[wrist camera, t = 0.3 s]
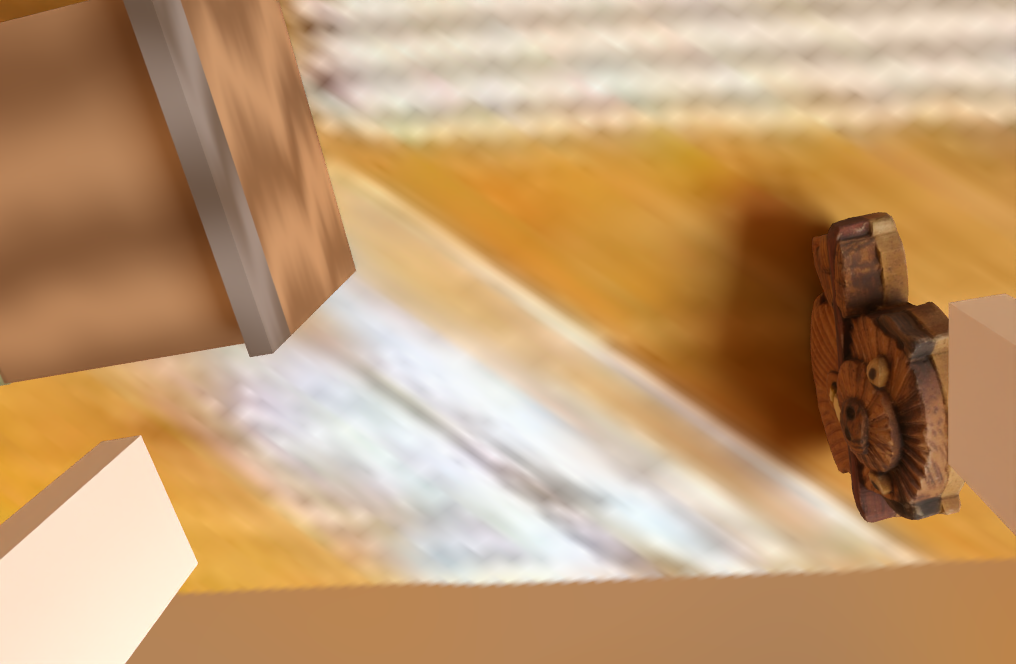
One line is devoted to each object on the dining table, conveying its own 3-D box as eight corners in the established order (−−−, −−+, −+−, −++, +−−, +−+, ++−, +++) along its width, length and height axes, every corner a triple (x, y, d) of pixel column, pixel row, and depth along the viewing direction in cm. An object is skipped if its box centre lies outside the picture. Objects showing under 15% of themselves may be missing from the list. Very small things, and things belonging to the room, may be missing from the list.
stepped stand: (-103, 92, 38) (-383, 105, 27) (278, -1, 35) (141, -30, 23) (12, 333, 43) (-186, 430, 31) (356, 271, 39) (273, 354, 28)
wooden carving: (765, 217, 37) (831, 270, 27) (856, 190, 36) (957, 235, 27) (820, 478, 42) (892, 597, 33) (901, 460, 41) (999, 577, 32)
